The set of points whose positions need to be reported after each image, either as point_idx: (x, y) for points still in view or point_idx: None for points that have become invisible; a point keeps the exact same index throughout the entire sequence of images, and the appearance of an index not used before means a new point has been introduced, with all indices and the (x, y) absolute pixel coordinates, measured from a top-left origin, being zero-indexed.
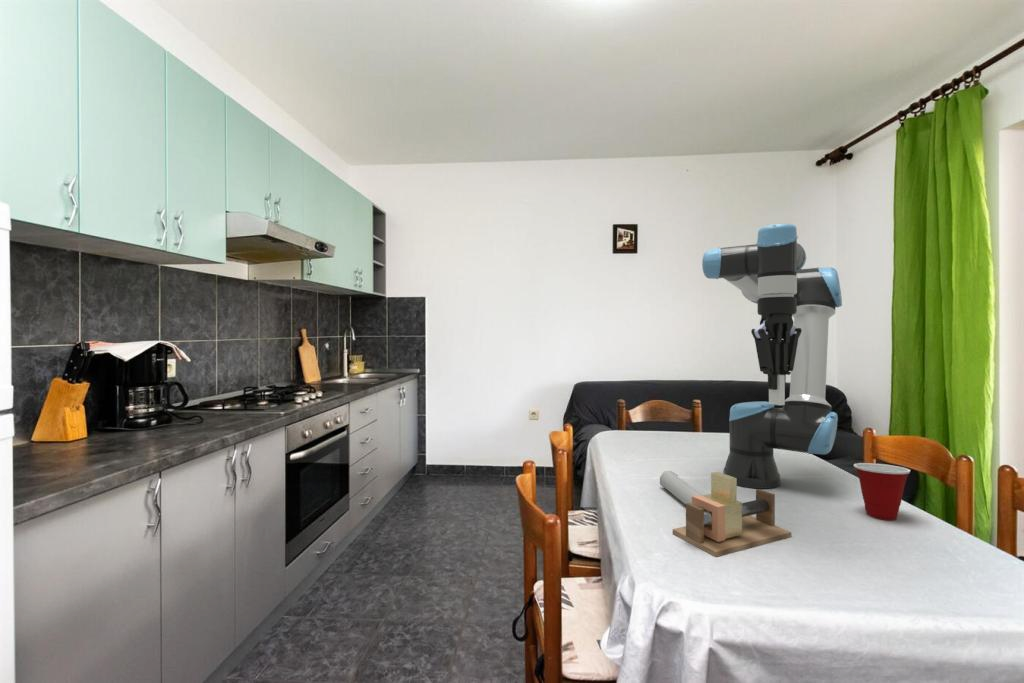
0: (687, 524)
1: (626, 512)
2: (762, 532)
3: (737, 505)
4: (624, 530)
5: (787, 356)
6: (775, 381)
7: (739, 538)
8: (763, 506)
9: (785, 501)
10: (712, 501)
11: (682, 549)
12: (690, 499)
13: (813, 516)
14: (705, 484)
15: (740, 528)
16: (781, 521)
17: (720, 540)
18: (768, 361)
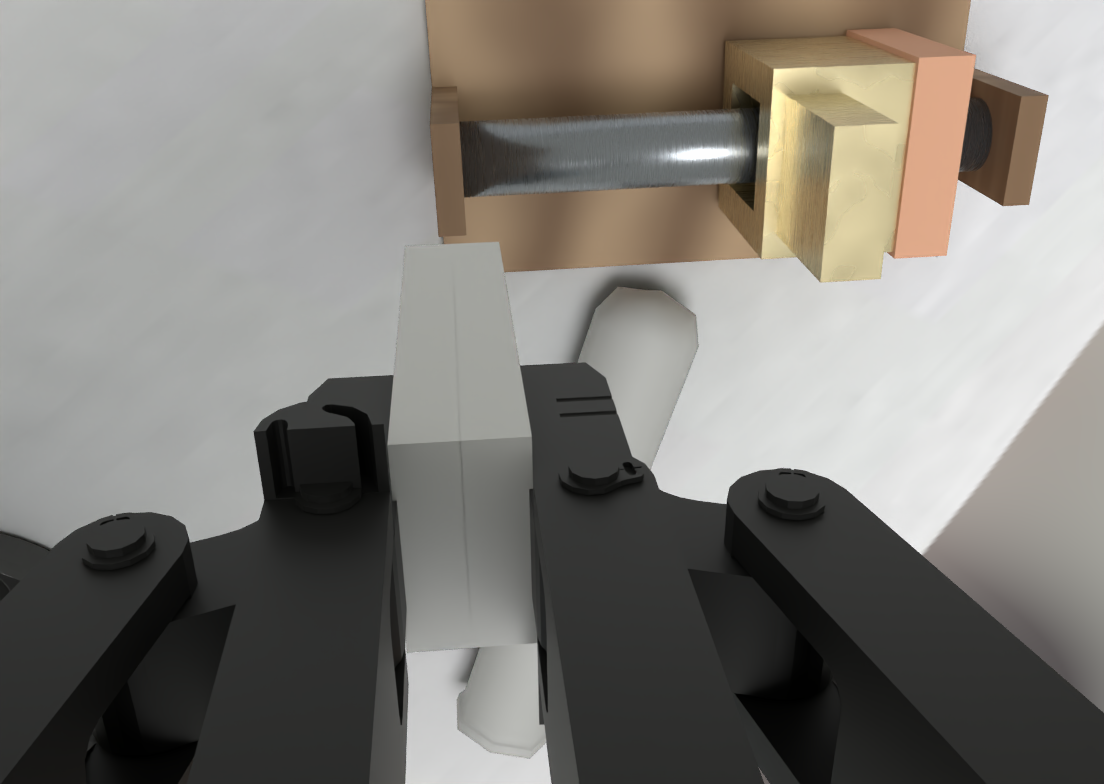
0: None
1: (916, 504)
2: (574, 42)
3: (807, 64)
4: (1076, 347)
5: (203, 761)
6: (567, 428)
7: (745, 32)
8: (507, 124)
9: (37, 356)
10: (921, 141)
11: None
12: (658, 443)
13: (60, 135)
14: None
15: (744, 45)
16: (301, 152)
17: (879, 29)
18: (979, 613)
